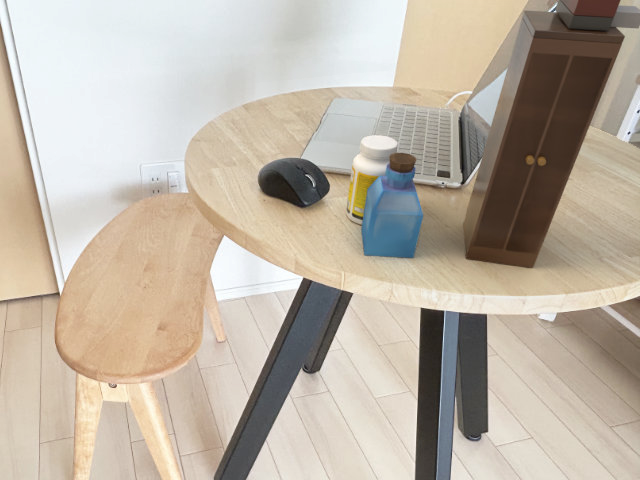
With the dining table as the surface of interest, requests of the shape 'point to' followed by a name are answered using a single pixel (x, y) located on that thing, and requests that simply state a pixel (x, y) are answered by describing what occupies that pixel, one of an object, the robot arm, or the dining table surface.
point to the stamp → (587, 13)
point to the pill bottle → (367, 172)
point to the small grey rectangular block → (626, 17)
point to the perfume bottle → (393, 211)
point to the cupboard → (536, 136)
